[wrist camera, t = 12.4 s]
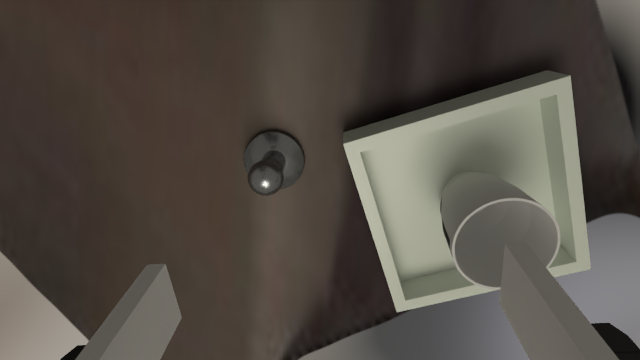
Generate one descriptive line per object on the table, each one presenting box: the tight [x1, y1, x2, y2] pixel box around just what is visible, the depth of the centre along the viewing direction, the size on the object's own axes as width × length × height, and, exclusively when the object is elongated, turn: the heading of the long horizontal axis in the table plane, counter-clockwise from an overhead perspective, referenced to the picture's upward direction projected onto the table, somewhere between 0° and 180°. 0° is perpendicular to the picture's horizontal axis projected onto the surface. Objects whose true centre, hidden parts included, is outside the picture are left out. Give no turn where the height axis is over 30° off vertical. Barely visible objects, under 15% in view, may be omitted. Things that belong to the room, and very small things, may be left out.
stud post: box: [244, 131, 305, 196], centre depth 37 cm, size 6×6×7 cm
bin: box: [343, 70, 591, 312], centre depth 39 cm, size 19×19×4 cm
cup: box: [440, 171, 561, 289], centre depth 35 cm, size 8×8×10 cm
